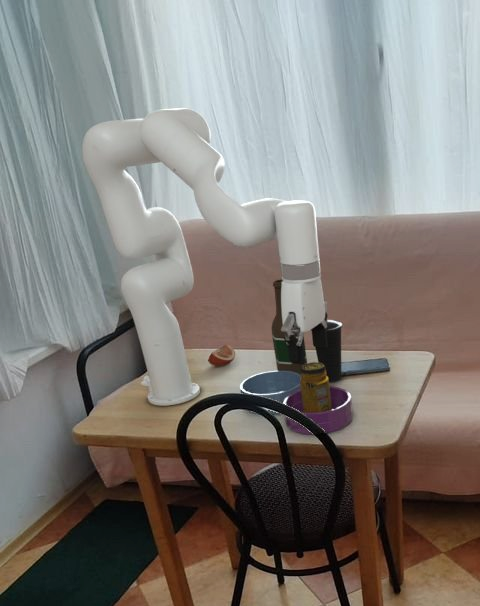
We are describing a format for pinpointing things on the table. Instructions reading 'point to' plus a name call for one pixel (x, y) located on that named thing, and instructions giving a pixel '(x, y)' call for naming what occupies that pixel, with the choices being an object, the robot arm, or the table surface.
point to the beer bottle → (282, 337)
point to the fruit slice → (222, 356)
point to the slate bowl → (272, 385)
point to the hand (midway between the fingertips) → (309, 354)
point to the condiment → (315, 388)
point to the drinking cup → (331, 351)
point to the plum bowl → (327, 419)
